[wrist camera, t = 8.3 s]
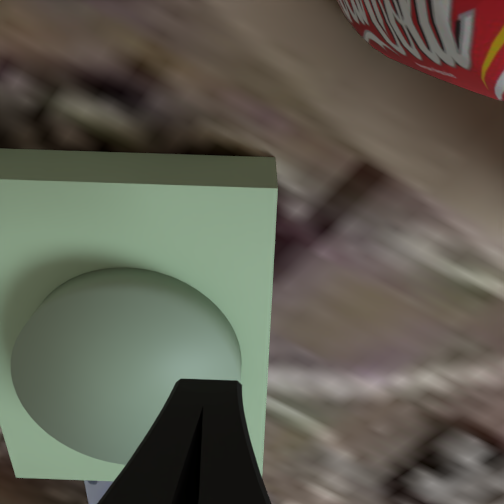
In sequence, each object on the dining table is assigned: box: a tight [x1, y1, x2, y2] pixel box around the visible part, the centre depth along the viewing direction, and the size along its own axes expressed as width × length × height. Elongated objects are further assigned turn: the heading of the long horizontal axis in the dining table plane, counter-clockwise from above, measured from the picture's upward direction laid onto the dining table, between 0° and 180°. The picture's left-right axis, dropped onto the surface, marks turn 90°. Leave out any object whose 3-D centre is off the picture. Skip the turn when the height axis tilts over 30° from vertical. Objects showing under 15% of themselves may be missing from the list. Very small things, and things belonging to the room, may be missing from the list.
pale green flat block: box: [0, 148, 278, 481], centre depth 19 cm, size 14×17×5 cm
